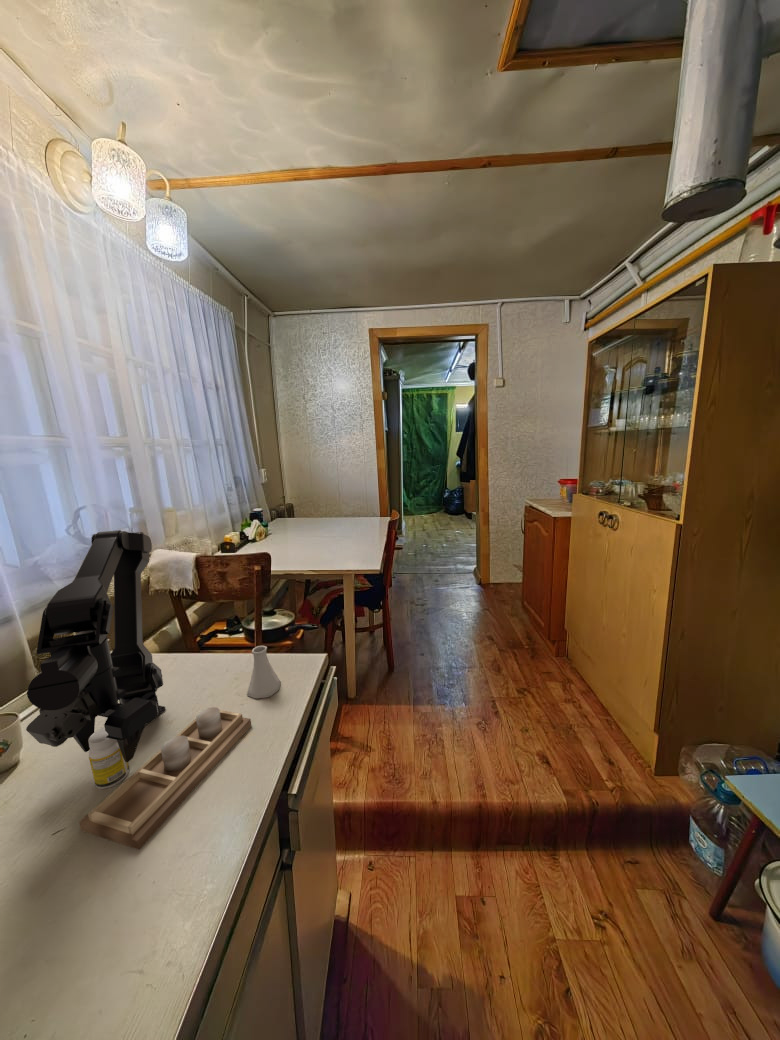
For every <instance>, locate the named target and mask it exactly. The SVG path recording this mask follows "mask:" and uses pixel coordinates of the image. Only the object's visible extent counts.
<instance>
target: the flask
mask: <svg viewBox="0 0 780 1040" xmlns="http://www.w3.org/2000/svg"><path fill="white" fill-rule="evenodd" d="M267 650H268V646H265V645H257V646H256V647H253V648H252V650H251V654H252V655H253V669H252V674H251V677H250V680H249V685H248V689H247V693H246V696H248V697H251V698H252V699H253V698H254V699H263V698H270V697H271V696H273V695H274V694H275V693H277V692H278V691H279V690H280V687H281V683H282V681H281V680H280V677H278V675H277V674H276V672H275V670H274V668H273V666H272V665H271V663H270V660H269V658H268V654H267Z"/></svg>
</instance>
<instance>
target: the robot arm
mask: <svg viewBox="0 0 780 1040" xmlns="http://www.w3.org/2000/svg"><path fill="white" fill-rule="evenodd" d="M90 543H91V545H90V547H89V549H88V551H87V553H86V555H85V557H84V559H83V561H82V563H81V565H80V567H79V569H78V571H77V573H76V575H75V577H74V579H73V580H72V582H71V583H68V584H67V585H65V586H64V587H62V588H60V589H58V590H57V591H56V593H55V594H54V595H53V596H52V598H50V600H49V602H47V605H46V607H45V608H44V609H43V611H42V615H41V623H40V628H39V635H38V640H37V647H36V655H38V656H39V655H43V654H50V656H48V658H46V659H44V660H43V661H42V662H41V663H40V664H39V667H40V671H39V672H38V674H37V675H36V676H34V678H33V679H32V680H31V681H30V682H29V684H28V688H27V691H26V695H27V699H28V702H30V703H31V704H32V705H33V706H34V707H36V708H38V710H39V714H38V715H37V716H36V717H35V718H34V719H33V720H32V721H31V722H30V723H28V725H27V726H26V729H25V730H26V731H27V733H28V734H29V735H30V736H31V737H33V738H34V739H35V741H37V743H39V744H42V745H48V746H51V747H54V748H56V747H59V746H61V745H63V744H64V743H65V742H66V741H67V740H68V739H72V738H73V739H74V740H75V742H76V743H77V744H78V746H79V747H80V748H81V750H82V751H83V752H84V753H88V752H89V750H90V747H89V741H88V740H89V738H90V736H91V735H92V734H93V733H95V728H96V727H95V726H96V717H102V718H106V720H105V722H104V724H103V728H104V727H105V731H106V732H107V733H108V734H109V735H108V736H106V738H110V739H114V740H117V742H118V745H119V748H120V751H121V753H122V756H123V758H124V760H125V762H128V763H130V761H131V760H133V759H134V756H135V753H136V751H137V748H138V745H139V742H140V741H141V740H140V739H141V737H142V735H143V731H144V730H145V727H146V725H147V724H149V723H151V722H152V721H153V720H154V719H156V717H158V716H159V715H160V714H162V713H163V712H164V711H166V706H165V705H164V706H163V705H160V704H159V700H158V695H157V691H158V690H159V688H161V687H163V685H164V681H163V674H162V669H161V668H160V667H159V666H158V665H157V664H155V662H153V654H152V653H151V652H150V651H149V649H148V648H147V647H146V645H144V642H143V614H142V613H143V610H142V609H143V608H142V607H143V606H142V605H143V604H142V573H143V572H144V570H145V569H146V567H147V566H148V564H149V562H150V553H151V552H152V549H153V545H152V543H153V542H152V540H151V537H150V536H149V535H147V534H145V533H144V532H143V531H137V532H127V531H126V530H124V531H122V530H121V529H119V530H107V531H98V532H97V533H94V534H92V537H91V542H90ZM112 580H113V602H114V603H113V604H112V601H111V600H110V597H109V595H108V591H109V588H110V585H111V582H112ZM113 611H114V612H113ZM113 614H114V618H113ZM112 618H113V619H114V620H113V621H114V622H113V623H114V625H113V626H114V627H113V628H114V631H113V632H114V636H113V637H114V648H113V650H112V651H111V649H110V645H109V640H108V635H109V634H110V630H111V626H112V624H111V623H112ZM74 633H75V634H74ZM67 634H74V635H69V636H68V635H67ZM61 635H67V636H62V637H56V638H54V636H61Z"/></svg>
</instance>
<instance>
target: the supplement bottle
mask: <svg viewBox="0 0 780 1040" xmlns="http://www.w3.org/2000/svg"><path fill="white" fill-rule="evenodd" d="M108 735H109V734H108V733H107V732H106V731H105V727H104V726H103V727H101V728H99V729H98V730H96V731H94V733H93V734H92V735H91V736H90V738H89V740H88V741H89V747H90V750H89V751H88V759H89V763H90V768H91V772H92V777H93V781H94V785H95V787H96V788H98V789H101V790H104V789H109V788H111V787H114V786H116V785H118V784H119V783H121V782H122V781H123V780H125V778H126V777H127V776H128V775H129V773H130V764H129V762H125V760H124V758H123V756H122V753H121V751H120V748H119V745H118V742H117V740H114V739H110V738H106V736H108Z"/></svg>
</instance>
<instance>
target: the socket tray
mask: <svg viewBox="0 0 780 1040" xmlns="http://www.w3.org/2000/svg"><path fill="white" fill-rule="evenodd" d="M251 727H252V719H251V718H247V717H243V714H242V713H239V712H232V711H227V710H221V709H219V708H218V707H215V706H213V707H207V708H205V709H202V710H201V711H199V712H198V714H197V715H196V717H195V719H193V720H192V721H191V722H190V723H189V724H188V725H187V726H186V727H184V728H183V729H182V730H181V731H179V733H177V735H175V736H174V737H172V738H169V739H168V740H167V741H165V742H164V743H163V744H162V746H161V747H160V749H159V751H157V752H156V753H155V754H154V755H153V756H151V758H150V759H148V760H147V761H146V762H145V763H144V764H142V765H141V766H140V767H139V768H138V769H137V770H136V771H135V772H134V773H133V774H131V775H130V776H129V777H128V778H127V779H125V780H124V781H123V782H122V783H121V784H120V785H119V786H118V787H116V789H114V790H113V791H112V792H111V793H109V795H107V796H106V797H105V798H104V799H103V800H102V801H101V802H100V803H99V804H98V805H96V806H95V807H94V808H93V809H92V810H91V811H90V812H88V813H87V814H86V815H84V817H82V818H81V820H79V821H78V825H79V829H80V831H82V832H84V833H87V834H90V835H93V836H96V837H98V838H102V839H104V840H108V841H111V842H114V843H116V844H119V845H120V844H121V845H122V846H126V847H129V848H131V849H135V850H138V851H139V850H141V849H142V848H143V846H144V845H145V844H146V843H147V842H148V841H149V839H151V838H152V836H153V835H154V834H155V833H156V832H157V830H158V829H160V827H161V826H162V825H163V824H164V823H165V822H166V821H167V820H168V819H169V817H171V815H172V814H173V813H174V812H175V811H176V809H178V807H179V806H180V805H182V803H183V802H184V801H185V800H186V799H187V797H188V796H190V794H191V793H192V792H193V791H194V789H195V788H197V787H198V785H199V784H200V783H201V782H202V781H203V779H205V777H207V776H208V774H209V773H210V772H211V771H212V770H213V769H214V767H216V765H218V763H219V762H221V760H222V759H223V757H224V756H226V754H227V753H229V751H230V750H231V749H232V748H233V747H234V745H235V744H236V743H237V742H238V741H239V740H240V739H241V738H242V737H243V736H244V734H245V733H246V732H247V731H248V730H249V729H250V728H251Z"/></svg>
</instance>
